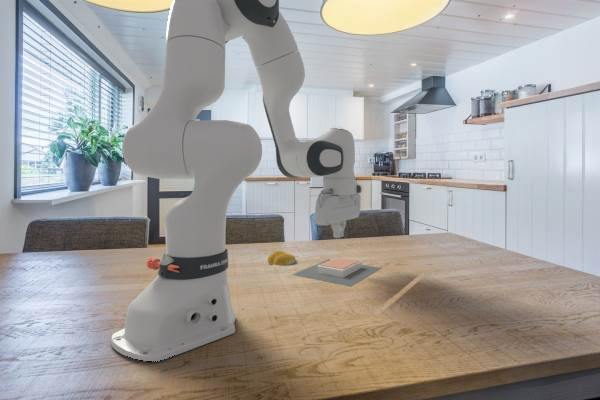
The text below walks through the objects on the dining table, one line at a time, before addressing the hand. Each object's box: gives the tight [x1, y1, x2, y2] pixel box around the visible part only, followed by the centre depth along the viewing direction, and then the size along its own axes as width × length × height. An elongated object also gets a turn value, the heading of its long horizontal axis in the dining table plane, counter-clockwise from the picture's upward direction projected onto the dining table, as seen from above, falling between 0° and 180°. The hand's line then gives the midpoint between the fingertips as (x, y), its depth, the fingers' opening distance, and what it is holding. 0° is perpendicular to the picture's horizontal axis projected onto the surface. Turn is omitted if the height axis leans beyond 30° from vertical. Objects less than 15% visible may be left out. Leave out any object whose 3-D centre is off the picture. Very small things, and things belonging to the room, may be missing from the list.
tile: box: [317, 256, 363, 278], centre depth 104 cm, size 2×8×12 cm
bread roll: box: [267, 250, 296, 266], centre depth 114 cm, size 8×9×4 cm
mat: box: [291, 258, 382, 287], centre depth 103 cm, size 20×18×1 cm
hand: (338, 237), depth 102 cm, fingers closed
